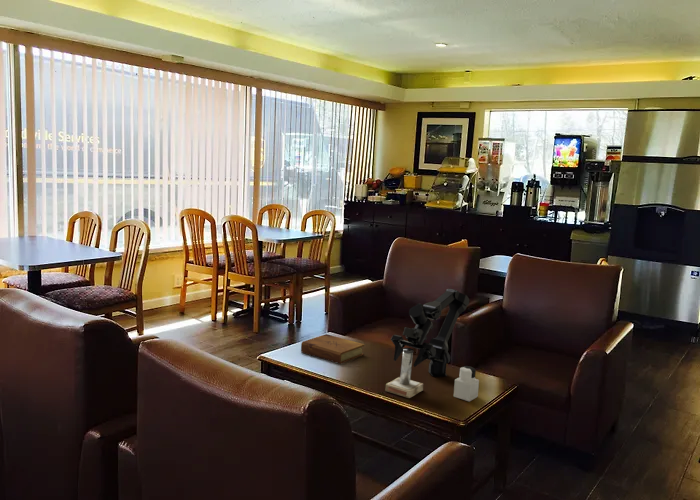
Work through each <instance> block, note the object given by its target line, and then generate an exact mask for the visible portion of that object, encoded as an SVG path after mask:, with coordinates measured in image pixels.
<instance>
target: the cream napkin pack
mask: <svg viewBox="0 0 700 500" xmlns="http://www.w3.org/2000/svg"><path fill="white" fill-rule="evenodd" d="M422 391H424V382H419V381H415V380H412V379H410V384H409V385H403V384H401V383H400V376H398V377H396V378H395V379H393V380H391V381H390V382H387V383H386V384H385V390H384V392H388V393H391V394H394V395H397V396H401V397H404V398H407V399H411V398H412V397H414V396H416V395H417V394H419V393H420V392H422Z"/></svg>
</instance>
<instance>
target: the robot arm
mask: <svg viewBox="0 0 700 500" xmlns="http://www.w3.org/2000/svg"><path fill="white" fill-rule="evenodd" d="M469 304H470V298H469V297H468V295H467V294H463V293H461V292H460V291H459V290H457V289H452V288H447V289H446V290H445V291H444V293H442V294H441V295H440V296H438V297H437V298H436V299H435V300H434V301H429V302H426V303H424V304H422V303H417V304H416V305H413V306H412V307H411V308H409V311H408V315H409V316H410V318H411V320H412V321H413V324H415V326H414V327H412V328H409V327H404V330H403V332H402V335H397V334H393V335H392V336H391V338H390V341H391V342H392V344H393V345H394V354H393V361H394V362H396V361H397V360H398V359H399V357H400V356H401V354H403V348H406V347H408V348H412V349H417V350H419V353H418V355H417V357H416V359H415V361H414V363H413V364H412V366H413V367H415V368H416V367H417V366H418V365H420V364H421V363H422V362H425V360H430V362H429V363H428V373H429V374H430V375H431V376H432V377H435V378H437V377H448V374H447V364H450V361H451V355H450V353H449V352H448V351H449V345H448V342H449V339H450V337H451V335H452V333H453V331H454V328H455V325H456V323H457V320H458V318H459V316H460V315H461V314H462V313H463V312H465V311H466V310H467V307H468V306H469ZM447 306H448V311H447V314H446V316H445V319H444V320H443V323H442V324H441V328H440V330H439V331H438V335H437V336H436V337H435V338H434V337H432V338H431V339H430V341H429V343H428V342H425V341H427V339H428V338H427V335H428V334H429V331H430V329H431V330H432V329H434V325H433V321H437V320H438V319H439V318H440V317H441V316H442V311H443V310H444V309H445V308H446V307H447ZM431 320H432V321H431ZM403 336H405V339H406V340H405V339H404V338H403ZM405 346H406V347H405Z"/></svg>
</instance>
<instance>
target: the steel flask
mask: <svg viewBox="0 0 700 500" xmlns="http://www.w3.org/2000/svg"><path fill="white" fill-rule="evenodd" d="M413 354H414V348H412V347H404V348H403V351H402V355H401V356H402V358H401V366H400V375H399V377H400V383H401V384H403V385H409V384H410V380H411V377H412V366H413V356H414V355H413Z"/></svg>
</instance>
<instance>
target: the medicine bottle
mask: <svg viewBox="0 0 700 500" xmlns="http://www.w3.org/2000/svg"><path fill="white" fill-rule="evenodd" d="M479 384H480V380H479V379H477V378H476V368H474V367H472V366H470V365H469V366H468V365H464V366H461V367H460V368H459V377H457V378H455V379H454V384H453V385H454V386H453V397H454V398H457V399H461V400H463V401H466V402H471V401H473V400H475V399H476V398H478V397H479Z"/></svg>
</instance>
